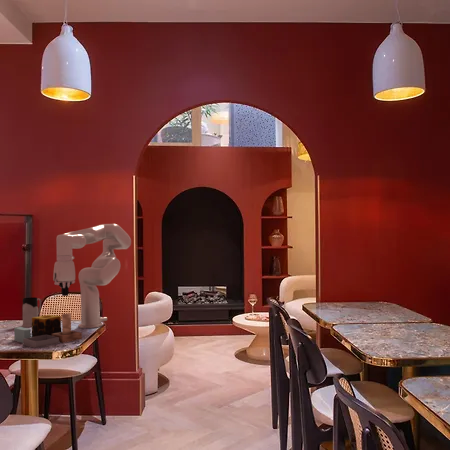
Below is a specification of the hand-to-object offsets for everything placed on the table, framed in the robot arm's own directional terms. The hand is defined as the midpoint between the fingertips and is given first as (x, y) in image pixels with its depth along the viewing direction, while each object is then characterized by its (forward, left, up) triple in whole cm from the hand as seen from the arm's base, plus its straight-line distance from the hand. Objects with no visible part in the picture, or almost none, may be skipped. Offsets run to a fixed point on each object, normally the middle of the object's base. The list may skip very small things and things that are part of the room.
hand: (65, 295), depth 247 cm
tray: (+20, +13, -19) cm, 30 cm away
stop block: (+22, 0, -19) cm, 29 cm away
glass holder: (-2, -38, -19) cm, 43 cm away
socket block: (+7, +13, -19) cm, 24 cm away
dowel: (+7, +13, -19) cm, 24 cm away
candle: (+10, 0, -19) cm, 22 cm away
